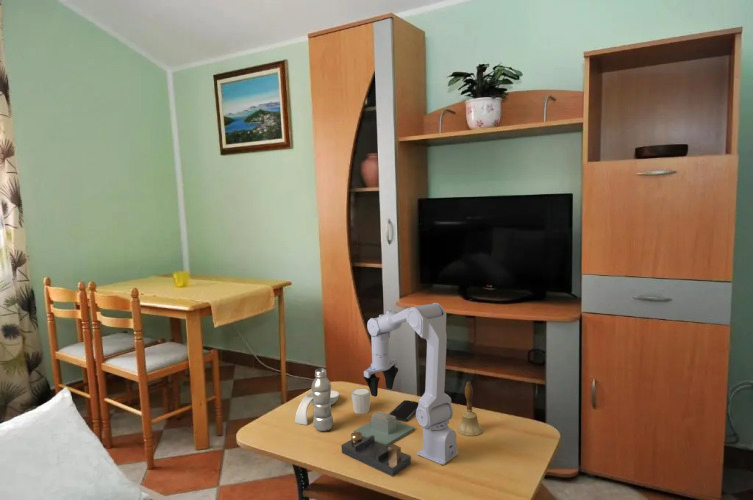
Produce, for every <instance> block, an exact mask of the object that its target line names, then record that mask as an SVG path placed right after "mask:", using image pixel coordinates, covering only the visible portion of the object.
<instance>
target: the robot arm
mask: <svg viewBox="0 0 753 500" xmlns="http://www.w3.org/2000/svg"><path fill="white" fill-rule="evenodd" d="M403 323H407V324H409V326H410V327H411V329H412V330H413V331H414V332H416V334H417V335H418V336H419V337H420V338H421V339H424V340H426V359H425V360H426V361H425V362H426V363H425V364H426V365H425V386H424V387H425V388H424V389H425V390H424V393H423V394H422V396H421V397H420V399H419V400H418V402H419V404H418V408H417V410H416V414H415V418H416V420H417V422H418V424H419V425H420V426H421V427H422V448H421V449H420V450H419V451H417V452H416V455H418V456H421V457H422V458H425V459H427V460H429V461H432V462H434V463H436V464H439V465H442V466H444V465H445V464H447V463H449V461H451V460H452V459H453V458H455V457H456V456H458V454H459V452H458V448H457V445H458V444H457V432H456V430H454V429H452V428H451V427H450V426H449V424H450V420H452V418H453V415H454V411H453V410H454V409H453V405H452V398H451V396H449V395H448V394H447V393H445V387H446V386H445V385H446V384H445V383H446V364H447V363H446V360H447V339H448V338H447V312H446V311H445V309H444V307H442V304H440V303H438V302H433V303H429V304H421V305H416V306H411V307H407V308H405V309H403V310H401V311H399V312H397V311H393V310H392V309H391V310H390V309H389V310H387V311H386V313H385V314H379V315H378V316H377V317H375V318H373V317H370V319H369V320H368V321H367V324H366V326H367V332H368V333H369V335H370V337H371V339H370V340H371V363H370V366H369V367H368V368H367V369H365V370H363V379H364V380H365V382H366V384H367V385H368V388H369V390H370V396H372V397H378V391H379V389H378V387H379V382H380V379H381V377H379V376H377V374H379V373H382V372H383V375H384V380H385V387H386V389H387V390H393V387H394V382H395V378H396V376H397V373H398V372H399V367H397V366H398V359H390V346H389V345H390V342H389V339H390V338H391V333H392V331H396V330H397V329H400V328H401V327H402V325H403Z"/></svg>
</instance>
